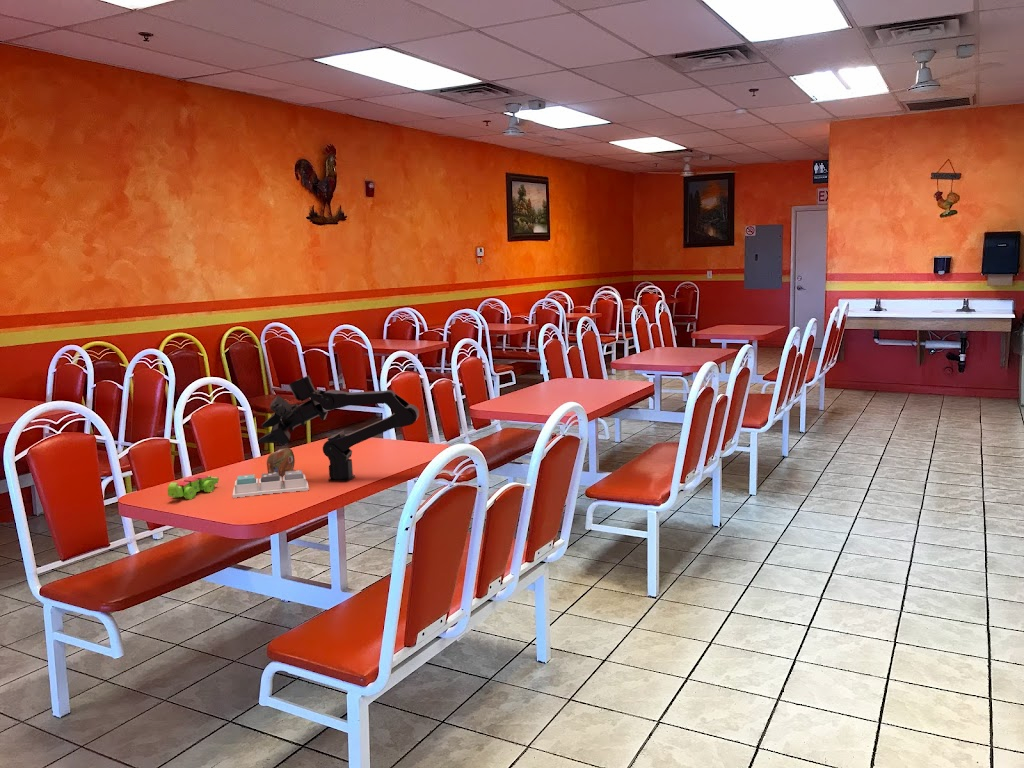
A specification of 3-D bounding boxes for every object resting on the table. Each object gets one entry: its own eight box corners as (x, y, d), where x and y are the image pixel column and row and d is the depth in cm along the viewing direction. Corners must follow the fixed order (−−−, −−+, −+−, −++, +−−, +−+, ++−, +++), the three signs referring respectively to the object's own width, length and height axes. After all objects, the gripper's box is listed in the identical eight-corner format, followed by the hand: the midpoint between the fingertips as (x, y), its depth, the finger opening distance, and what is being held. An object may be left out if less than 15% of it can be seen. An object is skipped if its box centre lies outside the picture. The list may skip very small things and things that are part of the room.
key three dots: (278, 480, 259) (278, 471, 259) (279, 483, 254) (278, 475, 254) (262, 481, 257) (261, 473, 257) (262, 485, 253) (261, 476, 252)
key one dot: (255, 482, 257) (254, 473, 257) (255, 486, 252) (254, 477, 252) (238, 484, 256) (237, 475, 255) (237, 487, 251) (237, 479, 250)
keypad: (307, 483, 263) (306, 472, 263) (308, 490, 255) (308, 479, 254) (233, 490, 257) (233, 479, 257) (232, 498, 249) (232, 486, 248)
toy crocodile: (208, 486, 265) (206, 467, 264) (225, 487, 262) (223, 468, 262) (160, 503, 247) (158, 482, 246) (178, 504, 244) (176, 484, 243)
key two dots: (302, 477, 261) (301, 469, 260) (302, 481, 256) (302, 473, 256) (285, 479, 259) (285, 471, 259) (286, 483, 255) (285, 474, 254)
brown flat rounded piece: (275, 481, 268) (273, 455, 267) (266, 480, 269) (264, 455, 268) (296, 470, 283) (294, 445, 282) (287, 469, 284) (285, 445, 283)
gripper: (292, 379, 269) (249, 400, 271) (287, 408, 253) (242, 430, 254) (310, 405, 275) (269, 426, 276) (306, 435, 258) (262, 456, 260)
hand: (260, 433), depth 266 cm, fingers open, 9 cm apart
